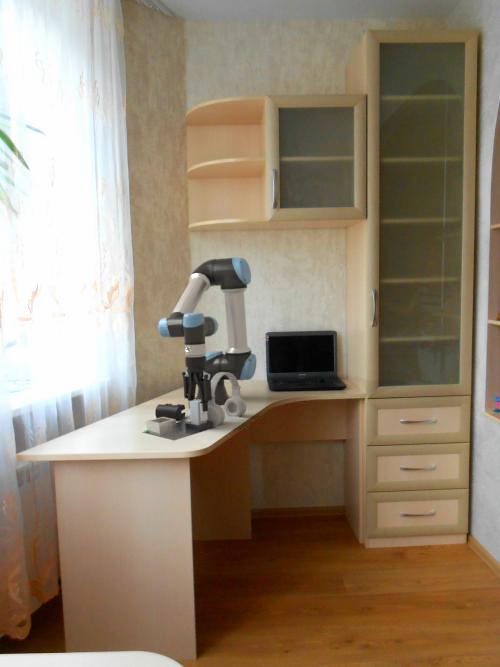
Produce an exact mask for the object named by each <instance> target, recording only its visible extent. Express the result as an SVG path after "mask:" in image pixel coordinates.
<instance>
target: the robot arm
mask: <svg viewBox="0 0 500 667" xmlns="http://www.w3.org/2000/svg"><path fill="white" fill-rule="evenodd" d="M251 281H252V273H251V268H250V265H249V263H248V261H247V260H246V259H245V258H244V257H227V258H212V259H209V260H206V261H204V262H203V263H201V264H199V265H198V266H197V267H196V268H195V269H194V270H193V271H192V273H191V274H190V276H189V278H188V284H187V286H186V287H185V290H184V291H183V293H182V295H181V297H180V298H179V300H178V301H177V303H176V306H175V307H174V309H173V310H172V311H171V314H170V315H169V317H165V318H161V319H160V320H159V321H158V332H159V334H160V336H161V337H163V338H184V355H185V356H186V357H185V358H184V359H185V363H184V364H185V367H186V368H187V369H186V371H182V373H181V375H182V378H183V379H182V380H183V394H184V395H183V398H184V399H186V400H187V401H188V409H189V416H190V418H189V419H190V420H191V408H190V401H193V400H197V399H201V402H200V418H201V421H204V420H207V419H208V418H207V411H208V401H211V400H212V393H211V380H212V378H213V377H214V376H215V375H216V374H217V373H219V372H228V373H232V374H233V375H234V376H235V377H236V379H237V381H250V380H251V379H252V378H253V377H254V376H255V373H256V369H257V357H256V354H254V353H252V348H250V347H249V345H248V335H247V334H248V333H247V320H246V306H245V304H246V303H245V302H246V301H245V291H247V290H248V285H250V283H251ZM215 286H217V287H220V291H221V292H222V293H223V294H224V304H225V321H226V332H227V348H226V350H225V351H223V350H215V351H209V352H208V351H207V349H206V338H207V337H212V336H213V335H215V334H216V333H217V332H218V329H219V324H218V320H216V319H215V318H214V317H213V316H210V315H209V316H205V314H204V313H202V312H195V311H196V309H197V307H198V305H199V303H200V301H201V300H202V298H203V295H204V294H205V292H207V291H209V289H210V288H211V287H215ZM225 381H230V379H229V378H228V377H227V376H226V375H223V376H222V377H221V378H220V380H219V381H218V383H217V386H216V389H215V394H214V395H215V397H214V398H215V404H217V405H219V406H220V405H221V406H222V405H225V402H226V401H227V400H228V399H229V398H230V397H229V395H228V392H227V388H226V385H225ZM197 388H198V389H197ZM196 390H197V394H196Z"/></svg>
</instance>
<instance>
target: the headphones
mask: <svg viewBox="0 0 500 667" xmlns="http://www.w3.org/2000/svg"><path fill="white" fill-rule="evenodd" d="M223 375H226V376H227V377H228V378H229V379H230V380H229V382H230V385H231V396H230V397H229V399H228V400H227V401H226V402H225V404H223V405H224V408H223V407H222V405H221V406H220V405H217V404H215V398H214V397H215V395H214V394H215V389H216V386H217V383H218V381H219V380H220V378H221V377H222V376H223ZM211 393H212V400H211V401H208V411H207V418H208V419H207V420H208V421H213V426H214V427H217V426H220V425H221V424H223V422H224V421H225V417H226V415H227V416H228V417H238V418H239V417H242V416H244V414H245V413H246V411H247V403H246V401H245V400H244V398H243V397H242V394H241V385H240V384H239V380H237V379H236V377H235V376H234V375H233V374H232V373H228V372H219V373H217V374H216V375H215V376H214V377H213V378H212V380H211ZM225 414H226V415H225Z"/></svg>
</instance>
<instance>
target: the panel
mask: <svg viewBox="0 0 500 667" xmlns="http://www.w3.org/2000/svg"><path fill="white" fill-rule="evenodd" d="M216 428H217V426H213V421H208V420H207V423H203V424H200V425H196V424H192V423H191V421H189V420H184V419H183V420H180V421H177V422H176V419H171V418H166V417H160V418H156V417H155V418H153V419H150V420H149V419H148V420H146V430H144V431H142V432H141V433H143V434H147V435H149V436H150V435H151V436H154V437H158V438H163V439H167V440H171V441H177V440H180V439H183V438H187V437H190V436H192V435H196V434H199V433H202V432H206V431H209V430H212V429H216Z"/></svg>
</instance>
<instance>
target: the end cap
mask: <svg viewBox="0 0 500 667" xmlns="http://www.w3.org/2000/svg"><path fill="white" fill-rule="evenodd" d="M184 410H186V406H185V404H180V403H179V404H172V403H165V404H161V403H159V404H158V405H156V407H155V412H154V415H155V419H156V418H160V417H166V418H171V419H176V421H177V422H181V421H182V418H184V417H186V411H184ZM183 411H184V412H183Z"/></svg>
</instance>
